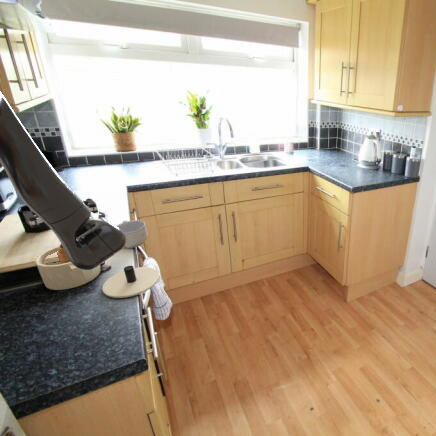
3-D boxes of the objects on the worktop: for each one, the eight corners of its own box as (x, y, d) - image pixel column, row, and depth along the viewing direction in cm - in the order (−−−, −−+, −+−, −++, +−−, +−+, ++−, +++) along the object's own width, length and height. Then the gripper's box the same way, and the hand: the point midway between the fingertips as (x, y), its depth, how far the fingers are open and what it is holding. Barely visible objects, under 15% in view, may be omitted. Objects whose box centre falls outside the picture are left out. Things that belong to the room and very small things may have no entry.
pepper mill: (67, 280, 101) (56, 248, 96) (63, 275, 103) (52, 243, 98) (84, 274, 104) (73, 242, 99) (79, 269, 106) (69, 238, 101)
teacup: (150, 247, 122) (146, 228, 119) (117, 253, 117) (112, 234, 114) (147, 232, 133) (143, 215, 130) (117, 238, 128) (112, 220, 124)
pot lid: (114, 306, 91) (109, 289, 88) (95, 284, 100) (90, 268, 98) (169, 282, 102) (165, 267, 100) (147, 264, 111) (144, 249, 109)
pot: (54, 300, 93) (44, 275, 89) (37, 273, 104) (28, 251, 101) (110, 278, 103) (103, 256, 100) (89, 256, 115) (83, 235, 111)
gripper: (103, 200, 80) (82, 185, 89) (29, 216, 70) (14, 197, 79) (110, 227, 83) (89, 210, 92) (40, 246, 73) (25, 224, 82)
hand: (55, 204), depth 86 cm, fingers open, 8 cm apart
